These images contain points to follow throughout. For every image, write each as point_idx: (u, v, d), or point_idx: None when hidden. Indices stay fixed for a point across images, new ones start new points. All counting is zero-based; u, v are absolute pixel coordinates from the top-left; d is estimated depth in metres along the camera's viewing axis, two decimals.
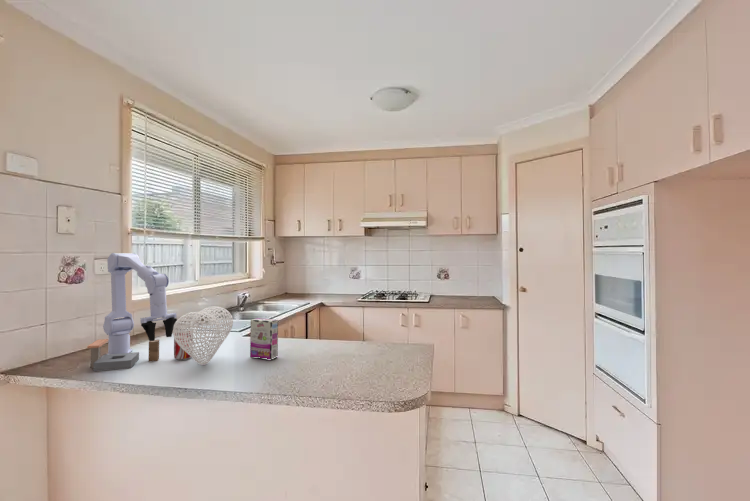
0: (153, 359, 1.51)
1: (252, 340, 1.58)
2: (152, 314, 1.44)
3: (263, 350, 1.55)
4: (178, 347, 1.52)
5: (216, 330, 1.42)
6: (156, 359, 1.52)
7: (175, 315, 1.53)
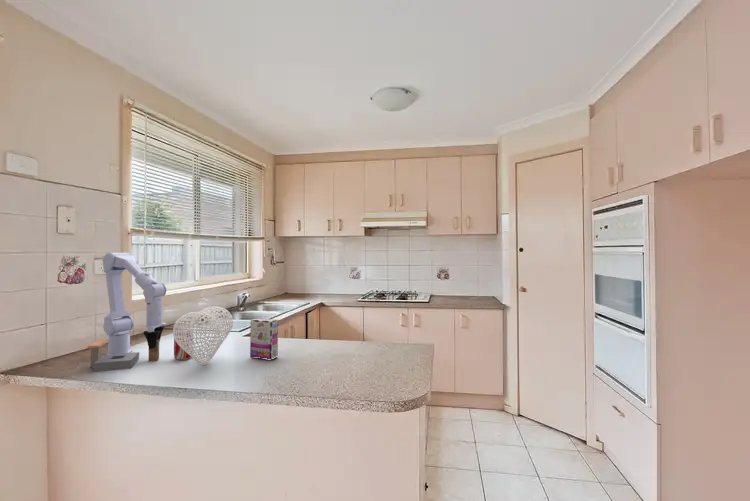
0: (153, 359, 1.51)
1: (252, 340, 1.58)
2: (152, 323, 1.50)
3: (263, 350, 1.55)
4: (178, 347, 1.52)
5: (216, 330, 1.42)
6: (156, 359, 1.52)
7: None
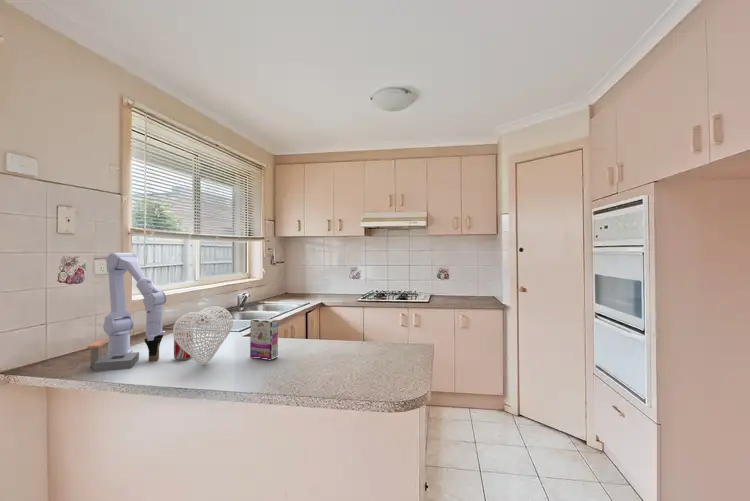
0: (153, 359, 1.51)
1: (252, 340, 1.58)
2: (152, 331, 1.50)
3: (263, 350, 1.55)
4: (178, 347, 1.52)
5: (216, 330, 1.42)
6: (156, 359, 1.52)
7: None
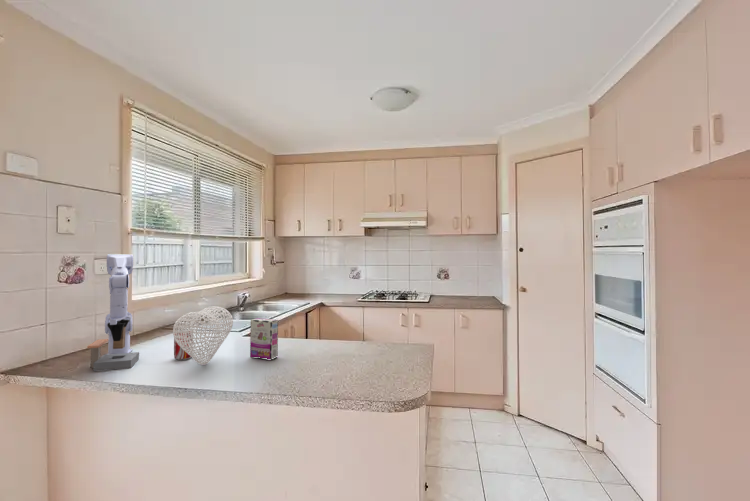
0: (118, 346, 1.45)
1: (252, 340, 1.58)
2: (116, 315, 1.43)
3: (263, 350, 1.55)
4: (178, 347, 1.52)
5: (216, 330, 1.42)
6: (121, 346, 1.45)
7: None
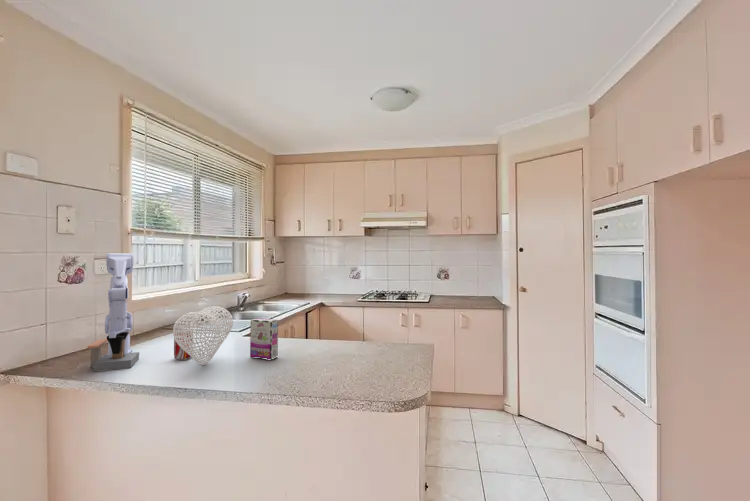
0: None
1: (252, 340, 1.58)
2: (115, 328, 1.43)
3: (263, 350, 1.55)
4: (178, 347, 1.52)
5: (216, 330, 1.42)
6: None
7: None
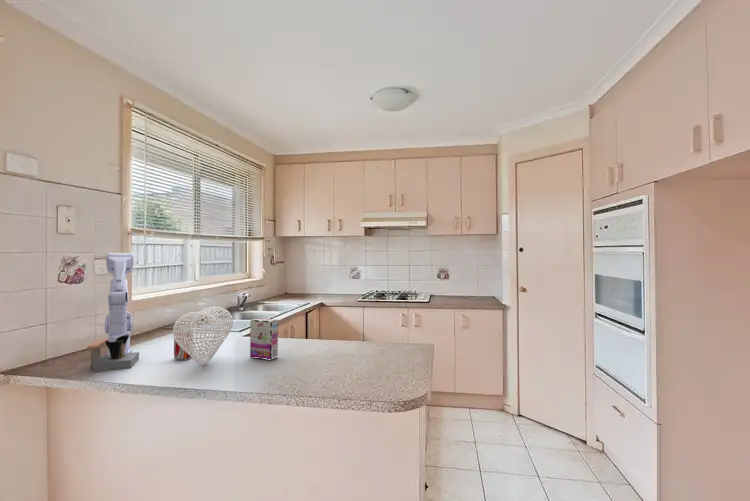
0: None
1: (252, 340, 1.58)
2: (115, 332, 1.43)
3: (263, 350, 1.55)
4: (178, 347, 1.52)
5: (216, 330, 1.42)
6: None
7: None
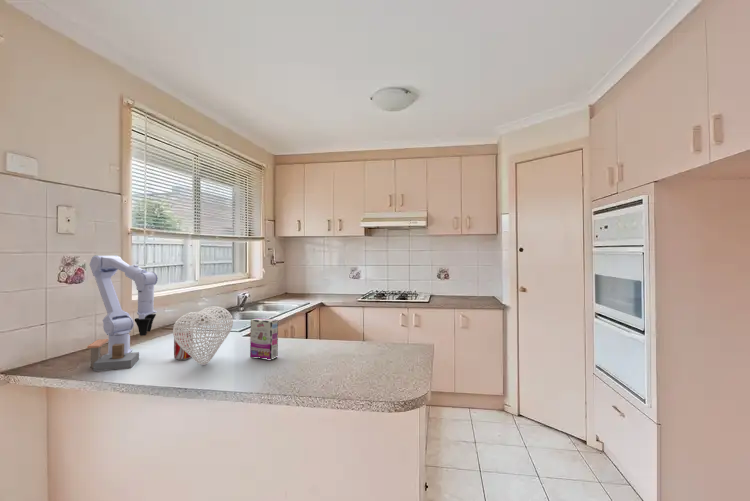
0: None
1: (252, 340, 1.58)
2: (143, 310, 1.52)
3: (263, 350, 1.55)
4: (178, 347, 1.52)
5: (216, 330, 1.42)
6: None
7: None
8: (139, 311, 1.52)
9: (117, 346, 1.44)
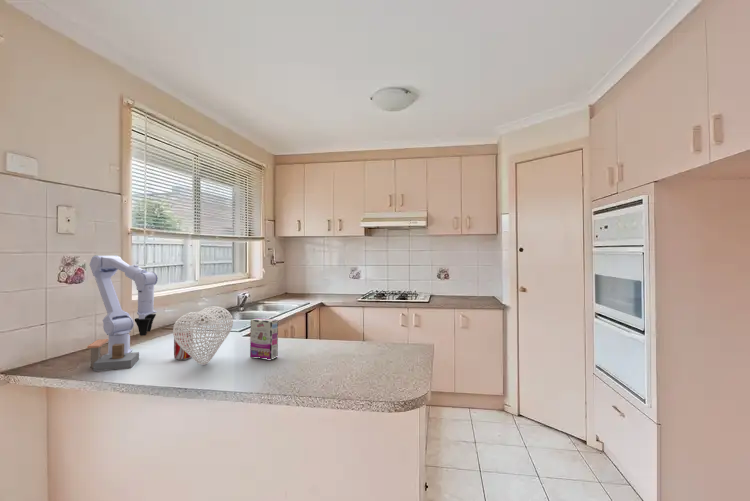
0: None
1: (252, 340, 1.58)
2: (143, 310, 1.52)
3: (263, 350, 1.55)
4: (178, 347, 1.52)
5: (216, 330, 1.42)
6: None
7: None
8: (139, 311, 1.52)
9: (117, 346, 1.44)
